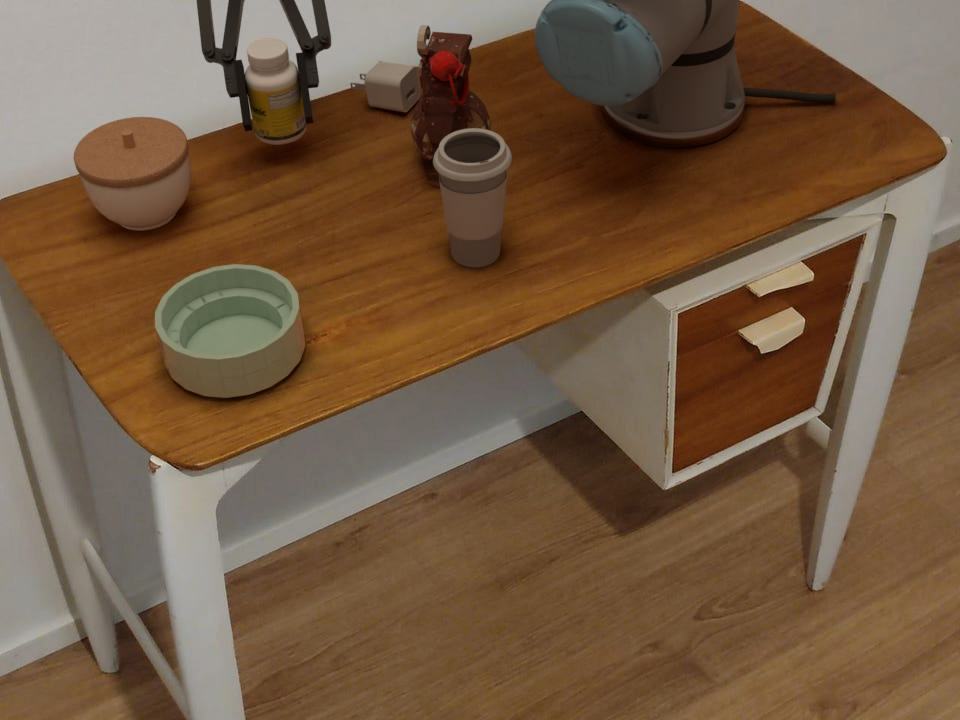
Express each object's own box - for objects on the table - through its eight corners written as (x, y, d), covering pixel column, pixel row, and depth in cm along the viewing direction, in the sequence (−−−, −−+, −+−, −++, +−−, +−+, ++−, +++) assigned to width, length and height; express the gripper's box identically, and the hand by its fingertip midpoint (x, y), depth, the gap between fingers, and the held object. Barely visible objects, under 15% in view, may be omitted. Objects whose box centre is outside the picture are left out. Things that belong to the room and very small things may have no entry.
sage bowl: (300, 298, 119) (293, 256, 116) (311, 390, 110) (304, 347, 107) (165, 316, 118) (155, 273, 114) (165, 411, 109) (154, 367, 106)
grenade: (479, 194, 130) (475, 61, 120) (401, 185, 132) (390, 54, 121) (498, 141, 137) (496, 11, 127) (423, 134, 138) (415, 5, 128)
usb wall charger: (416, 63, 140) (421, 96, 143) (361, 55, 143) (367, 88, 146) (398, 81, 138) (404, 114, 140) (343, 73, 141) (349, 105, 143)
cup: (454, 283, 120) (449, 176, 112) (427, 242, 125) (420, 136, 117) (524, 262, 122) (524, 155, 114) (495, 223, 127) (493, 118, 119)
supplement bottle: (248, 125, 136) (233, 41, 129) (298, 112, 137) (285, 28, 130) (263, 151, 132) (248, 66, 125) (313, 138, 133) (302, 53, 127)
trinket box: (177, 251, 125) (158, 170, 118) (73, 239, 127) (49, 158, 120) (216, 186, 132) (200, 106, 126) (117, 175, 134) (97, 97, 128)
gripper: (337, -100, 135) (369, 121, 134) (158, -81, 133) (190, 143, 132) (337, -130, 127) (371, 103, 127) (146, -110, 125) (180, 127, 125)
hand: (278, 123), depth 130 cm, fingers closed on supplement bottle, 5 cm apart
